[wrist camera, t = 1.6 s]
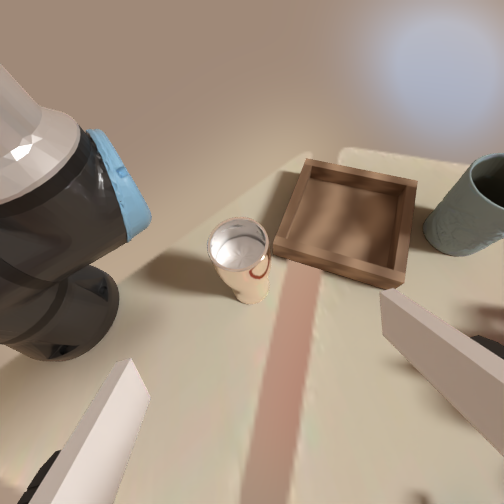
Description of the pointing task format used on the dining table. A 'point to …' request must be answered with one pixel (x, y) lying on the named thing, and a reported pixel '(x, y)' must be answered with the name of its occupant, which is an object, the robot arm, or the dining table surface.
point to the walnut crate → (349, 223)
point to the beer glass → (242, 257)
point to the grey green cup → (470, 210)
